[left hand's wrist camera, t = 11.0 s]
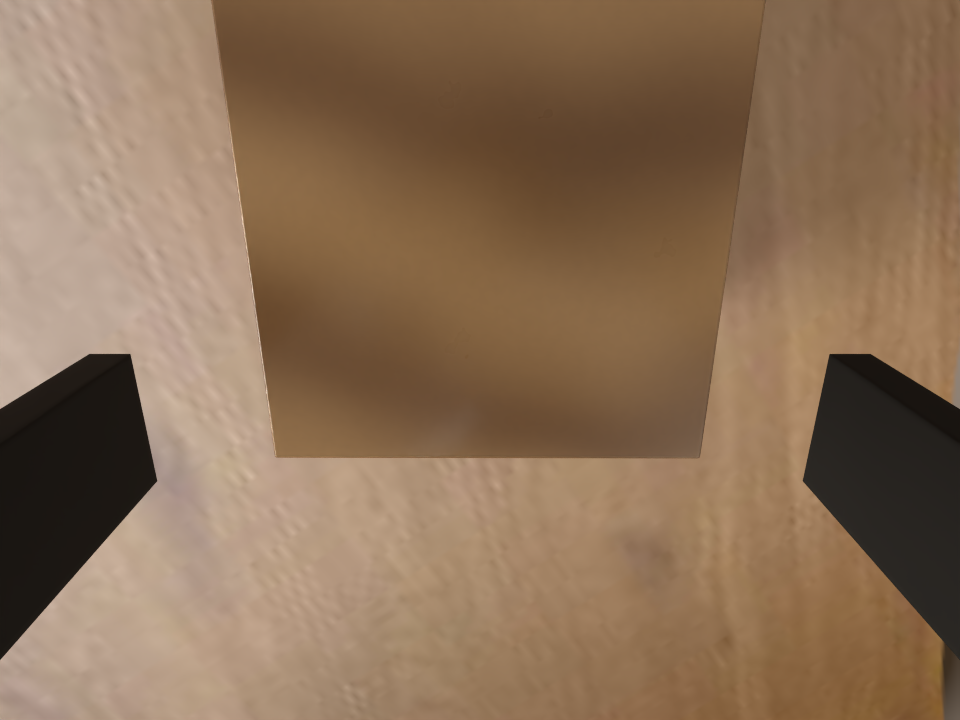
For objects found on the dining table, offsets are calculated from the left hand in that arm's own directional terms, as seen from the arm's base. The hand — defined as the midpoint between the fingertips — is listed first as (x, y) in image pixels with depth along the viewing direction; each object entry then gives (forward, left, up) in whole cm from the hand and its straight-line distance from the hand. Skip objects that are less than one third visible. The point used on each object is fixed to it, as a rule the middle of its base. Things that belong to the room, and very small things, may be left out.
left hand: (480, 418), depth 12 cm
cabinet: (+6, -1, -15) cm, 16 cm away
